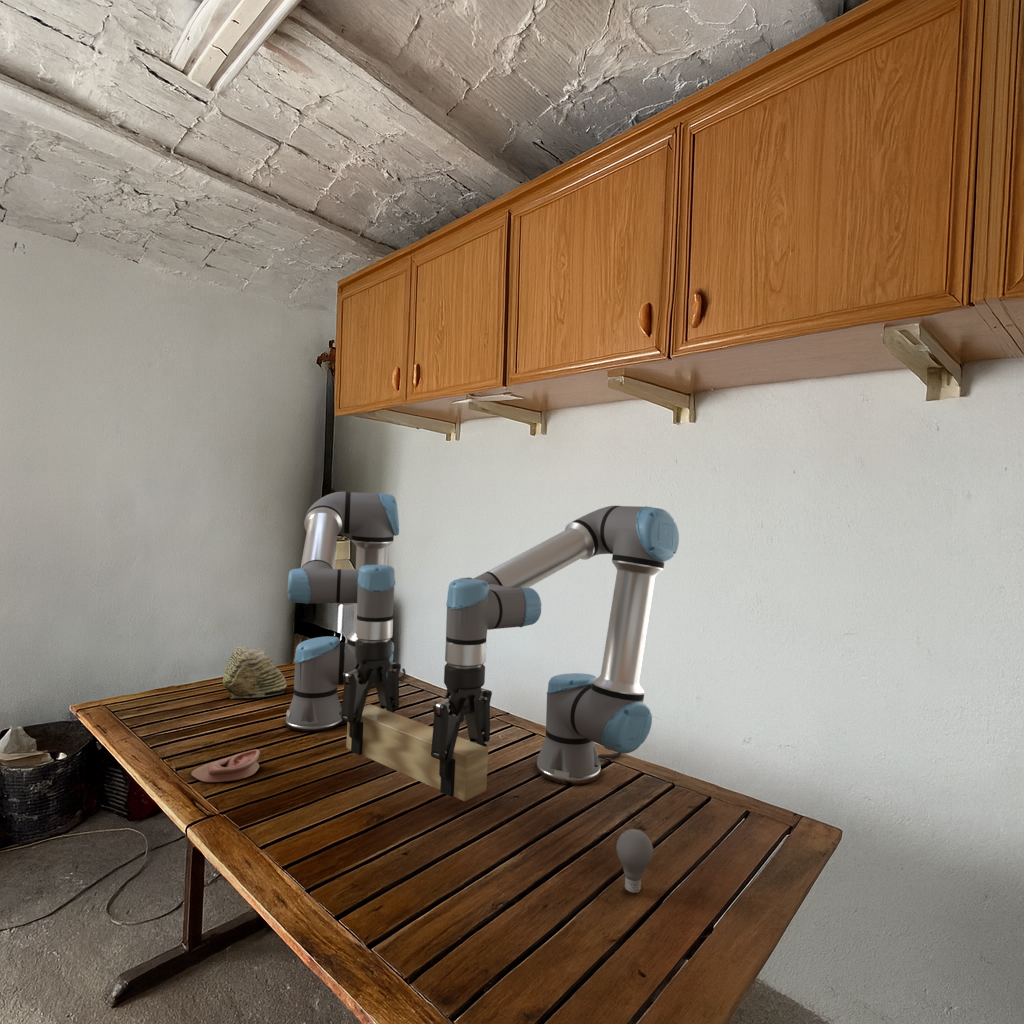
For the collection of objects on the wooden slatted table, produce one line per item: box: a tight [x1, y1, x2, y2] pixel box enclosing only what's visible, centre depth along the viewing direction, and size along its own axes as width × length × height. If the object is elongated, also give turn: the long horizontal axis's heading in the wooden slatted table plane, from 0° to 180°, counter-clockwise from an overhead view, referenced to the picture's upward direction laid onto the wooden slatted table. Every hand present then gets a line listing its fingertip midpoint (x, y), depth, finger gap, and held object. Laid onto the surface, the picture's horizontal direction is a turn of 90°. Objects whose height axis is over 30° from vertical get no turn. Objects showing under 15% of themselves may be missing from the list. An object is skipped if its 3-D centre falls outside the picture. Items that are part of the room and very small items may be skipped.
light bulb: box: [615, 828, 654, 894], centre depth 106 cm, size 6×6×10 cm
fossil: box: [222, 646, 288, 699], centre depth 198 cm, size 9×18×15 cm, turn 132°
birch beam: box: [345, 703, 489, 802], centre depth 125 cm, size 34×6×8 cm, turn 52°
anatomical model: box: [190, 748, 261, 783], centre depth 143 cm, size 13×4×12 cm
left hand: (369, 748), depth 133 cm, fingers closed on birch beam, 6 cm apart
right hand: (459, 787), depth 117 cm, fingers closed on birch beam, 6 cm apart
